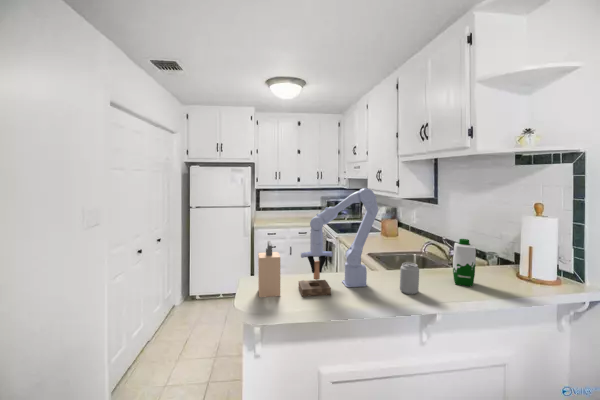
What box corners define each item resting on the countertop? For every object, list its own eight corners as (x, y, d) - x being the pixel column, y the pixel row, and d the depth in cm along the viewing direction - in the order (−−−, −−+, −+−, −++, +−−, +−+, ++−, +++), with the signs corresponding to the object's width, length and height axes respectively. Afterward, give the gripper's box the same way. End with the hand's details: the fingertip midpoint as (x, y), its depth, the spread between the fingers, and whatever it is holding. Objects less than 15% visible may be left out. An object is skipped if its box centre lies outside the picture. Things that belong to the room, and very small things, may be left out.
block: (325, 286, 133) (325, 279, 133) (330, 295, 123) (330, 288, 123) (298, 287, 131) (298, 281, 131) (302, 296, 121) (302, 289, 121)
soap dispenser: (258, 289, 129) (258, 239, 127) (278, 288, 130) (278, 238, 129) (259, 301, 116) (259, 246, 115) (281, 300, 118) (281, 245, 116)
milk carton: (472, 281, 140) (474, 239, 139) (475, 288, 132) (477, 243, 130) (451, 279, 144) (453, 237, 142) (453, 285, 135) (455, 241, 134)
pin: (318, 277, 139) (318, 260, 138) (320, 279, 136) (320, 262, 136) (313, 277, 139) (313, 260, 138) (314, 279, 136) (314, 262, 135)
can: (409, 296, 122) (410, 267, 121) (395, 290, 129) (396, 263, 128) (422, 293, 126) (423, 265, 125) (408, 287, 132) (409, 260, 132)
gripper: (329, 240, 141) (329, 268, 142) (299, 241, 139) (299, 270, 140) (333, 243, 134) (333, 273, 135) (302, 245, 132) (302, 275, 133)
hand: (316, 272), depth 137 cm, fingers closed on pin, 3 cm apart
